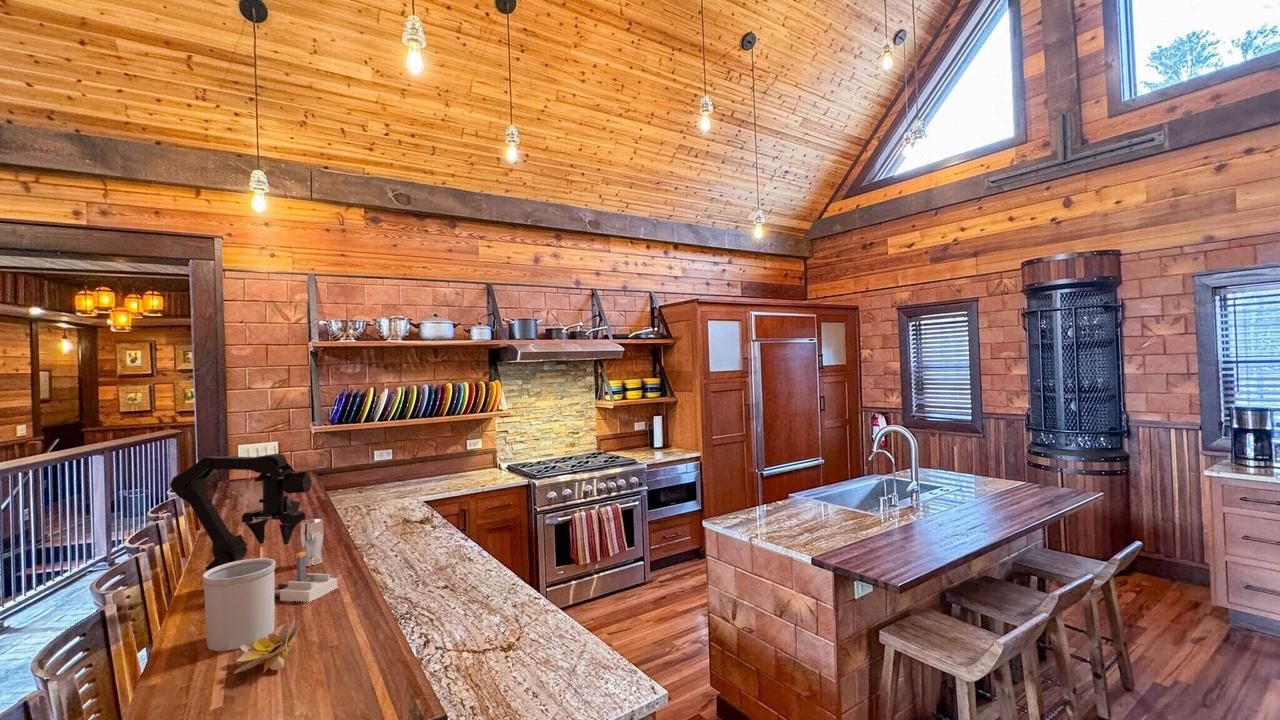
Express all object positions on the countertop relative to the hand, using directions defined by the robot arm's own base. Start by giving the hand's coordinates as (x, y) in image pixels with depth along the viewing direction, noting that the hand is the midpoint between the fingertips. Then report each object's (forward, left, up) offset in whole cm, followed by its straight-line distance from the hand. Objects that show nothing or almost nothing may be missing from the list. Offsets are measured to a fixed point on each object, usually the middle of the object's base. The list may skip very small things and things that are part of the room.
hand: (274, 543), depth 174 cm
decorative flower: (-29, -50, -13) cm, 59 cm away
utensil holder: (-25, -30, -13) cm, 41 cm away
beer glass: (+18, +9, -13) cm, 24 cm away
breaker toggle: (-1, -15, -10) cm, 18 cm away
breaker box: (-1, -13, -13) cm, 19 cm away
